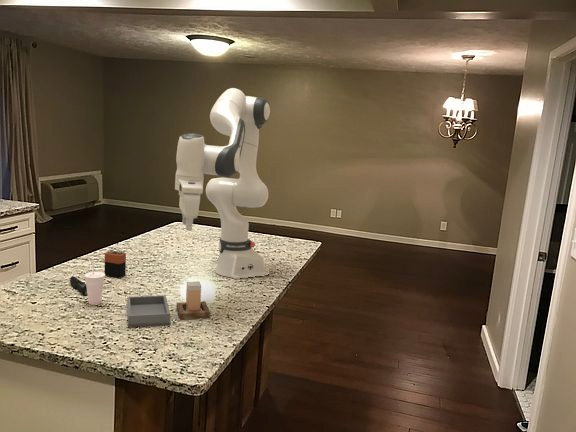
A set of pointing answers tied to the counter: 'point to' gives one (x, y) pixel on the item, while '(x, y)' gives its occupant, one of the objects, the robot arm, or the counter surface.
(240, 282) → the counter surface
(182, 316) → the frame
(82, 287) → the electric trimmer
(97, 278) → the smoothie
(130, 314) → the tray
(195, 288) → the block
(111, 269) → the battery
